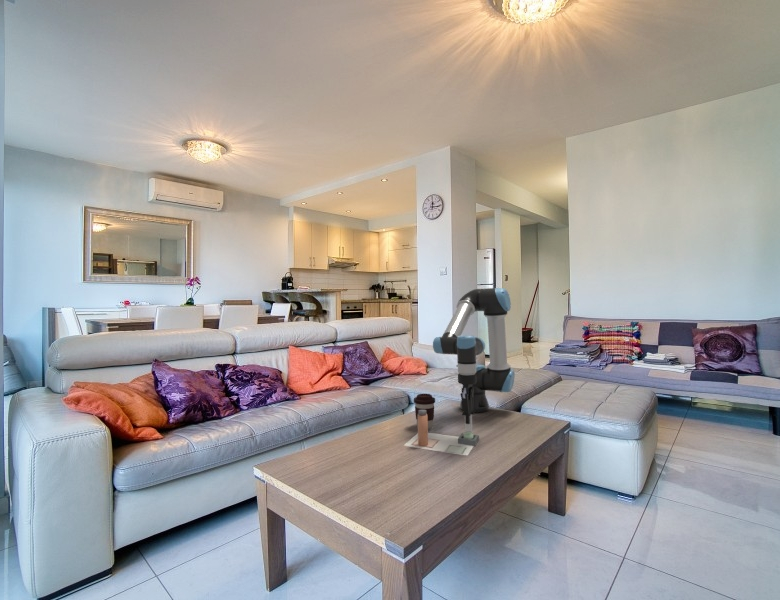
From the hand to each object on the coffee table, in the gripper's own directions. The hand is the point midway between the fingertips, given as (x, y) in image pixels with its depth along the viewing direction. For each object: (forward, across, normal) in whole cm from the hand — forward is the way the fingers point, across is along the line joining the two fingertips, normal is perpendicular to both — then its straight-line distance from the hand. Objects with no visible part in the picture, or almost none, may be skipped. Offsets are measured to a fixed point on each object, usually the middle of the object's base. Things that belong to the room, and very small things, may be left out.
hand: (468, 430), depth 155 cm
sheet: (+5, +5, -10) cm, 12 cm away
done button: (+5, 0, 0) cm, 5 cm away
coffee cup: (+5, -11, -23) cm, 26 cm away
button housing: (+4, 0, 0) cm, 4 cm away
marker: (+4, +10, -16) cm, 20 cm away
